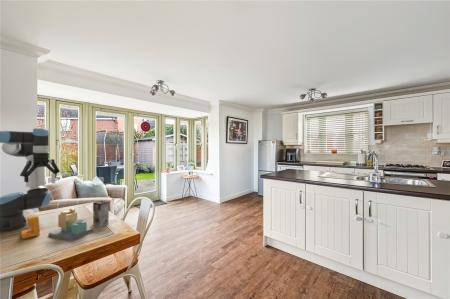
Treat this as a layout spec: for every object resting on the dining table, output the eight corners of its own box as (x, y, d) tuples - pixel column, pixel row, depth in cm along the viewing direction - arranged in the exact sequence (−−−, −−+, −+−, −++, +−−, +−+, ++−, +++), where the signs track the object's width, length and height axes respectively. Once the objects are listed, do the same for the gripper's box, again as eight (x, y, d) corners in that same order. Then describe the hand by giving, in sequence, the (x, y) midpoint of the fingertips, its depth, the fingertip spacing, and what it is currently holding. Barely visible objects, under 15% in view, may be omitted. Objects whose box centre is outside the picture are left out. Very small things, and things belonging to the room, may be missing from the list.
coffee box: (92, 224, 143) (92, 202, 143) (101, 221, 149) (101, 200, 149) (100, 226, 139) (100, 204, 139) (109, 223, 145) (109, 201, 145)
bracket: (21, 235, 126) (21, 216, 126) (36, 231, 132) (36, 213, 131) (23, 240, 119) (23, 220, 119) (39, 236, 125) (39, 217, 125)
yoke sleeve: (66, 228, 125) (65, 212, 125) (58, 226, 127) (58, 211, 127) (77, 224, 131) (77, 209, 131) (69, 222, 134) (69, 208, 133)
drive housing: (48, 236, 125) (48, 217, 124) (71, 227, 138) (71, 210, 138) (71, 240, 119) (71, 221, 118) (93, 231, 132) (93, 213, 132)
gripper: (19, 153, 114) (20, 189, 114) (65, 152, 138) (66, 182, 138) (11, 153, 116) (12, 188, 117) (58, 151, 140) (58, 181, 140)
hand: (41, 185), depth 127 cm, fingers open, 13 cm apart
